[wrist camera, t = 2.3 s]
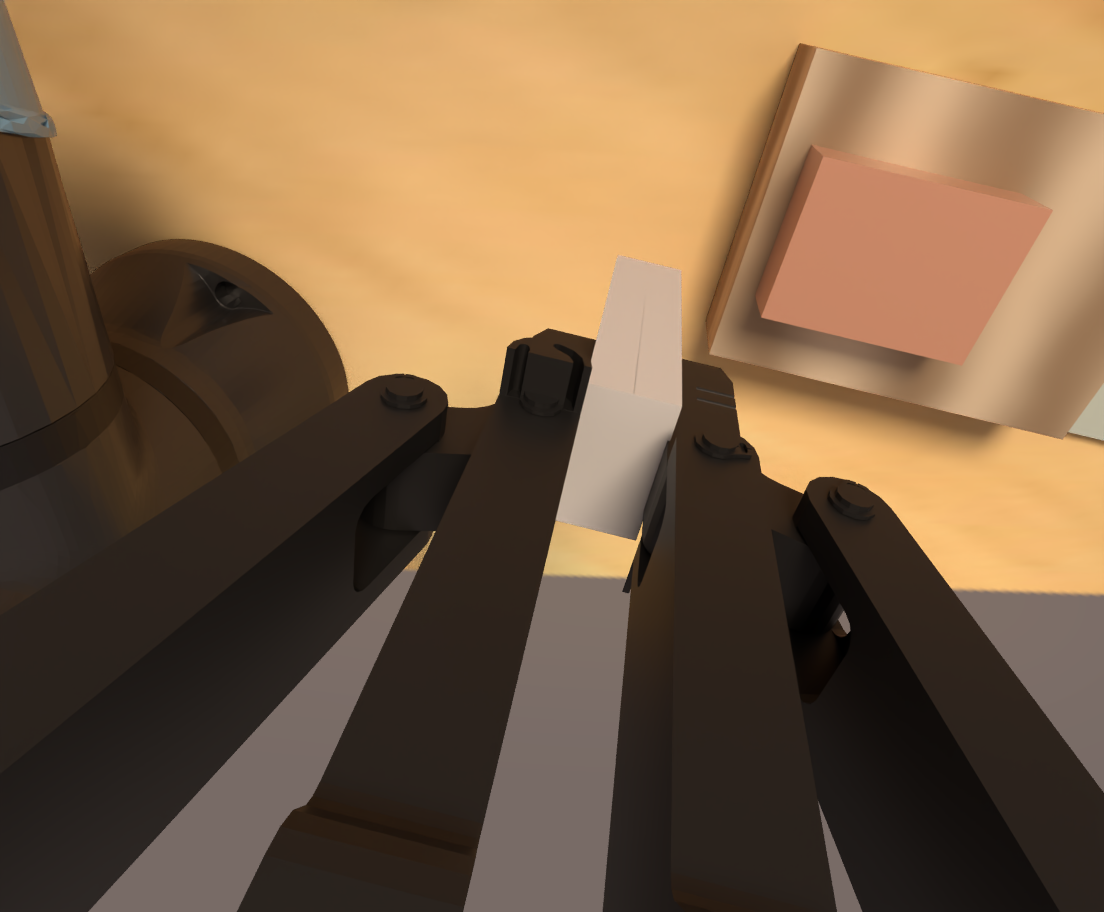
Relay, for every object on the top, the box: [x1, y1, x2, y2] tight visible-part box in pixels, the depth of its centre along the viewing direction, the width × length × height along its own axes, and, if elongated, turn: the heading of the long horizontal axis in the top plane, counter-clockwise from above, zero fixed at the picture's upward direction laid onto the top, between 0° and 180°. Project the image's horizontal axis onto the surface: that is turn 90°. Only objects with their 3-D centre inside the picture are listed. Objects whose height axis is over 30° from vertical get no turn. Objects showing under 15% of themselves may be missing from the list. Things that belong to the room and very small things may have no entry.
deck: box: [706, 43, 1104, 439], centre depth 29 cm, size 16×12×4 cm
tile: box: [755, 144, 1053, 366], centre depth 26 cm, size 8×6×2 cm
